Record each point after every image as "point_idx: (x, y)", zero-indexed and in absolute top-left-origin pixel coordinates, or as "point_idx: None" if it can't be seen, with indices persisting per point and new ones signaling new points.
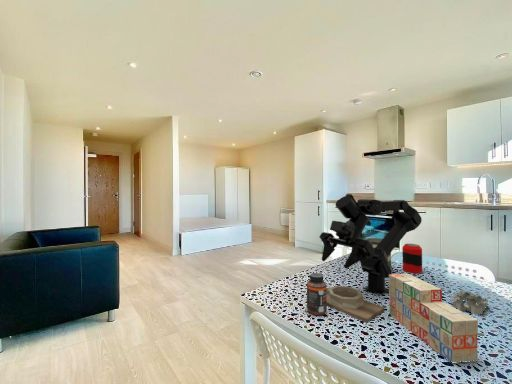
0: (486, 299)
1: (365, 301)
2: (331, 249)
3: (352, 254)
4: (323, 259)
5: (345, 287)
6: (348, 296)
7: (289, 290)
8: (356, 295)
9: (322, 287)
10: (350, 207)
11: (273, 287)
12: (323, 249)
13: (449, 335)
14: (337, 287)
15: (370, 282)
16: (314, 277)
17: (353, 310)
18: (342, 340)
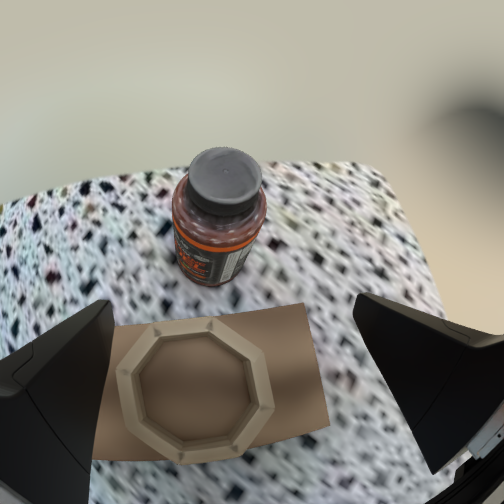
0: None
1: (152, 453)
2: (437, 424)
3: (11, 364)
4: (361, 306)
5: (236, 437)
6: (221, 435)
7: (377, 282)
8: (183, 445)
9: (173, 195)
10: None
11: (406, 252)
12: (448, 322)
13: None
14: (259, 406)
15: None
16: (208, 150)
17: (123, 348)
18: (75, 206)
